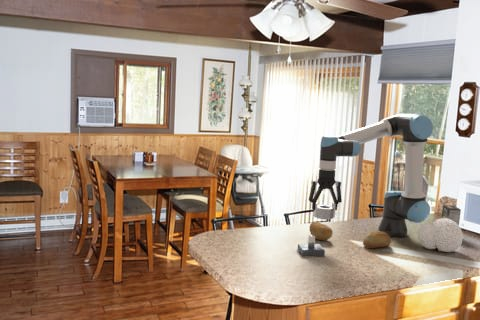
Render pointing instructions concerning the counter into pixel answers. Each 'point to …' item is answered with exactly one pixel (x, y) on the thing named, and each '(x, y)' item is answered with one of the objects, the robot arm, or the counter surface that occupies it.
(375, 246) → the bread roll
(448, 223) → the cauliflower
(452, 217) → the coffee box
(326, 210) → the hub
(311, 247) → the pillow block
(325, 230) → the potato
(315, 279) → the counter surface
